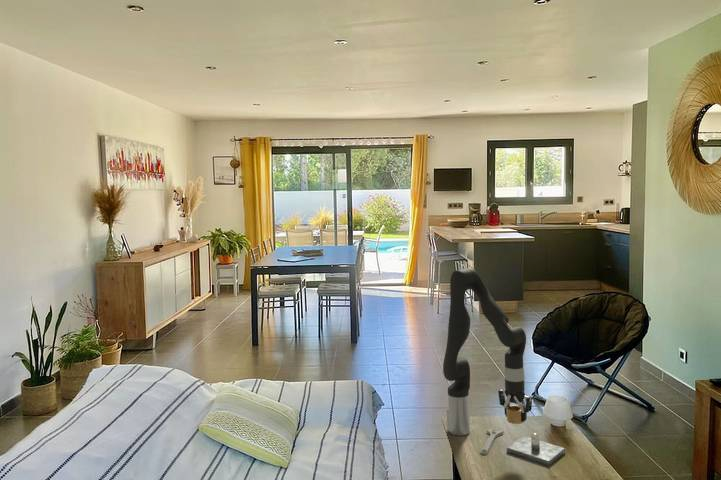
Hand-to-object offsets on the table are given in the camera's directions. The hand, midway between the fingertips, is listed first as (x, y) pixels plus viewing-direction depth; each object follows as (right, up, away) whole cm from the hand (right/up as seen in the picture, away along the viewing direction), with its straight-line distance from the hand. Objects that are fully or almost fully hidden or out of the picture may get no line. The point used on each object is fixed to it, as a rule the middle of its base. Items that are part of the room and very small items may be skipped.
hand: (515, 418), depth 211 cm
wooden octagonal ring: (0, -1, 0) cm, 1 cm away
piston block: (+9, -15, +4) cm, 18 cm away
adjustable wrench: (-7, -16, +16) cm, 24 cm away
